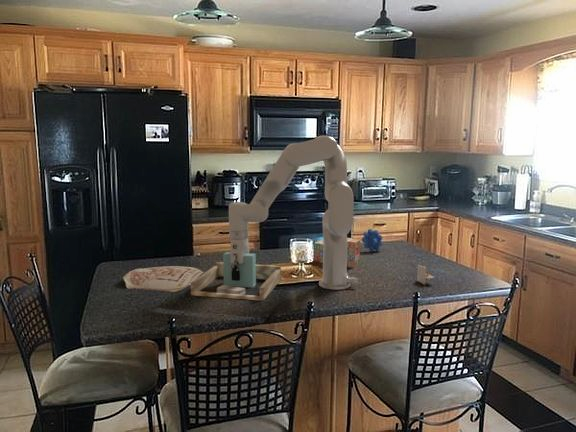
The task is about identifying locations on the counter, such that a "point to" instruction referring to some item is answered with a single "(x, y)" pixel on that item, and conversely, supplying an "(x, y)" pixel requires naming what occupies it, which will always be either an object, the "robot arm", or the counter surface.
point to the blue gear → (372, 240)
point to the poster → (162, 278)
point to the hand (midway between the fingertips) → (239, 276)
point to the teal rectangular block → (245, 271)
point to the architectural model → (422, 274)
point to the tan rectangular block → (352, 252)
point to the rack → (262, 272)
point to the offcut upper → (230, 290)
